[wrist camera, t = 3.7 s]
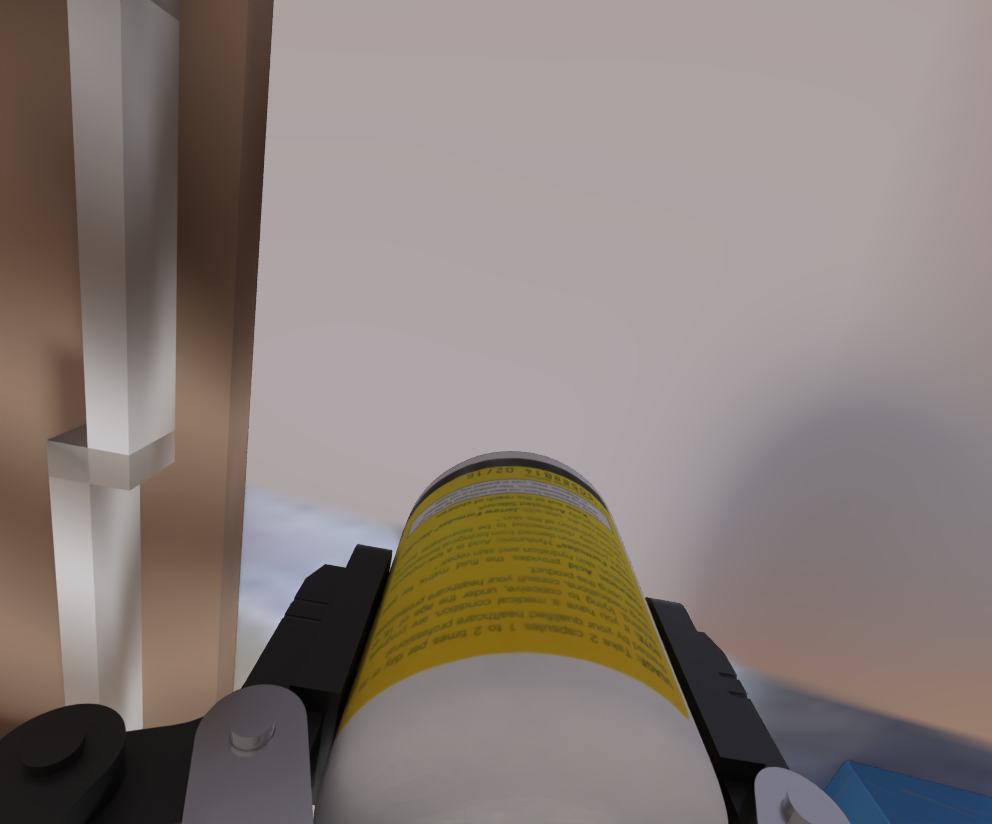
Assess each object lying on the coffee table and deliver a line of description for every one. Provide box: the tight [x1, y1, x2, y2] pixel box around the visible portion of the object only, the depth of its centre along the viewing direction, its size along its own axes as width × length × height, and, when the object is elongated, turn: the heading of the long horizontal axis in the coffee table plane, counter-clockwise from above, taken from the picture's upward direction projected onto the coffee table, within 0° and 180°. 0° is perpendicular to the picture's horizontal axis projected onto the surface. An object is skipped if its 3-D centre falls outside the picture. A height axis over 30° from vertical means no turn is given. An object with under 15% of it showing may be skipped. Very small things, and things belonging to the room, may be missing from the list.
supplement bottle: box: [313, 451, 728, 824], centre depth 8 cm, size 5×5×10 cm
